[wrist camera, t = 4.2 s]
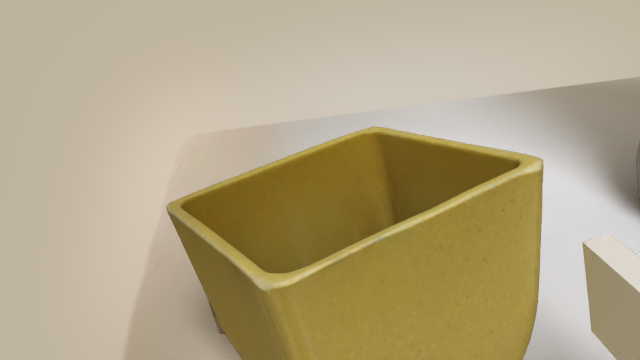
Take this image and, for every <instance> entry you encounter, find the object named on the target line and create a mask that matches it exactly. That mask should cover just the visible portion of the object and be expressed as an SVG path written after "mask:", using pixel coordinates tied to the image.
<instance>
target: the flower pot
mask: <svg viewBox="0 0 640 360" xmlns="http://www.w3.org/2000/svg"><path fill="white" fill-rule="evenodd" d="M542 182H543V160H542V159H540V158H537V157H534V156H531V155H527V154H521V153H517V152H511V151H506V150H499V149H494V148H489V147H484V146H477V145H472V144H466V143H461V142H456V141H451V140H445V139H440V138H434V137H430V136H425V135H418V134H413V133H409V132H404V131H398V130H393V129H388V128H381V127H370V128H367V129H364V130H360V131H357V132H354V133H351V134H348V135H345V136H342V137H340V138H337V139H334V140H331V141H328V142H325V143H323V144H320V145H317V146H314V147H312V148H309V149H306V150H304V151H301V152H299V153H296V154H293V155H290V156H288V157H285V158H283V159H280V160H277V161H275V162H272V163H270V164H267V165H265V166H262V167H259V168H257V169H254V170H251V171H249V172H246V173H243V174H241V175H239V176H236V177H234V178H231V179H228V180H226V181H223V182H220V183H218V184H215V185H212V186H210V187H207V188H205V189H202V190H199V191H197V192H195V193H192V194H190V195H188V196H185V197H183V198H180V199H178V200H176V201H173V202H171V203H169V204H168V205H167V211H168V214H169V216H170V218H171V220H172V222H173V224H174V226H175V229H176V231H177V233H178V235H179V237H180V239H181V241H182V244H183V246H184V248H185V250H186V252H187V254H188V257H189V259H190V261H191V263H192V265H193V267H194V270H195V272H196V274H197V276H198V278H199V280H200V282H201V285H202V287H203V289H204V291H205V293H206V295H207V298H208V300H209V302H210V304H211V306H212V309H213V311H214V313H215V315H216V317H217V319H218V321H219V323H220V325H221V326H222V328H223V330H224V332H225V334H226V335H227V337H228V338H229V340H230V342H231V343H232V345H233V346H234V348H235V349H236V351H237V352H238V354H239V355H240V356H241V358H242V359H243V360H523V357H524V355H525V352H526V350H527V347H528V344H529V341H530V338H531V334H532V331H533V327H534V322H535V317H536V311H537V303H538V289H539V270H540V244H541V221H542Z"/></svg>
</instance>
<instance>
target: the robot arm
mask: <svg viewBox="0 0 640 360" xmlns="http://www.w3.org/2000/svg"><path fill="white" fill-rule="evenodd" d="M636 166H637V181H638V195H639V199H640V143H639V146H638V150H637V158H636ZM583 252H584V262H585V271H586V281H587V291H588V301H589V310H590V320H591V330H592V332H593V333H594V334H595V335H596V336H597V338H598V339H599V340H600V341H601V342H602V343H603V344H604V346H605V347H606V348H607V349H608V350H609V351H610V352H611V354H612V355H613V356H614V357H615V358H616V359H617V360H640V257H639V256H638V255H636V254H635V253H634V252H633V251H631V250H630V249H629V248H627V247H626V246H625V245H624V244H622V243H621V242H620V241H619V240H617V239H616V238H615V237H613V236H612V235H609V236H604V237H600V238H596V239H592V240H588V241H584V242H583Z"/></svg>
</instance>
